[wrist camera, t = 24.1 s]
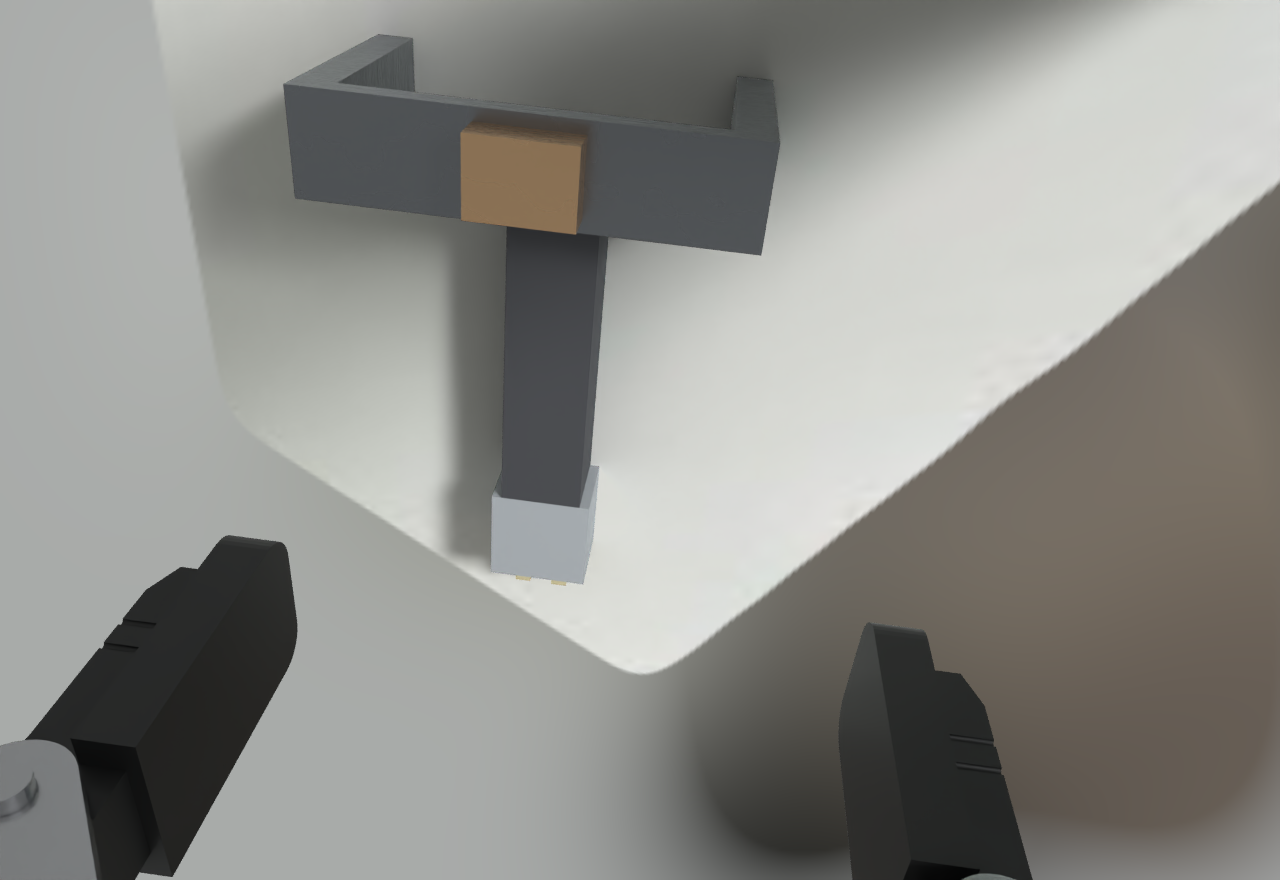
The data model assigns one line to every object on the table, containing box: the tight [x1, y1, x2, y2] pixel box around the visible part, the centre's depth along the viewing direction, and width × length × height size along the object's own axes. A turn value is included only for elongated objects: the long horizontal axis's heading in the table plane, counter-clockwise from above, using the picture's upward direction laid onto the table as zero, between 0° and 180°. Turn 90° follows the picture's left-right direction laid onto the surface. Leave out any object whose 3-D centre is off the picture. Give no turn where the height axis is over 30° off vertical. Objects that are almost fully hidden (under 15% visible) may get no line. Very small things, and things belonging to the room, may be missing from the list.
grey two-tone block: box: [491, 226, 608, 586], centre depth 48 cm, size 5×22×4 cm, turn 175°
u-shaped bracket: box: [283, 34, 780, 255], centre depth 37 cm, size 17×4×12 cm, turn 85°
